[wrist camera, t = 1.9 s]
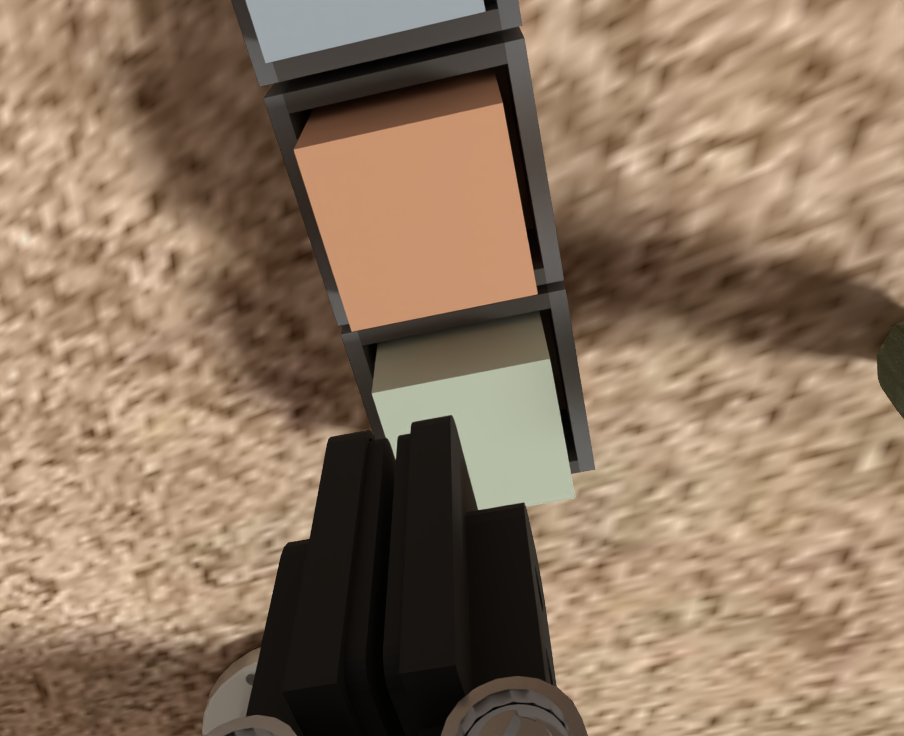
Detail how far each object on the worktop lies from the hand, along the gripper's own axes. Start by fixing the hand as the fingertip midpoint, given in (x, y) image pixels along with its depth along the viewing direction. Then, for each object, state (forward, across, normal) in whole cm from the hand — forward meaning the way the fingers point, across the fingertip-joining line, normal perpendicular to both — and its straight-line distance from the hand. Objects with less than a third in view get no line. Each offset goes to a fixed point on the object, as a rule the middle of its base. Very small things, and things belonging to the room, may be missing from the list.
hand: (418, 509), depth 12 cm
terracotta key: (+15, 0, 0) cm, 15 cm away
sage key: (+15, 0, +7) cm, 17 cm away
